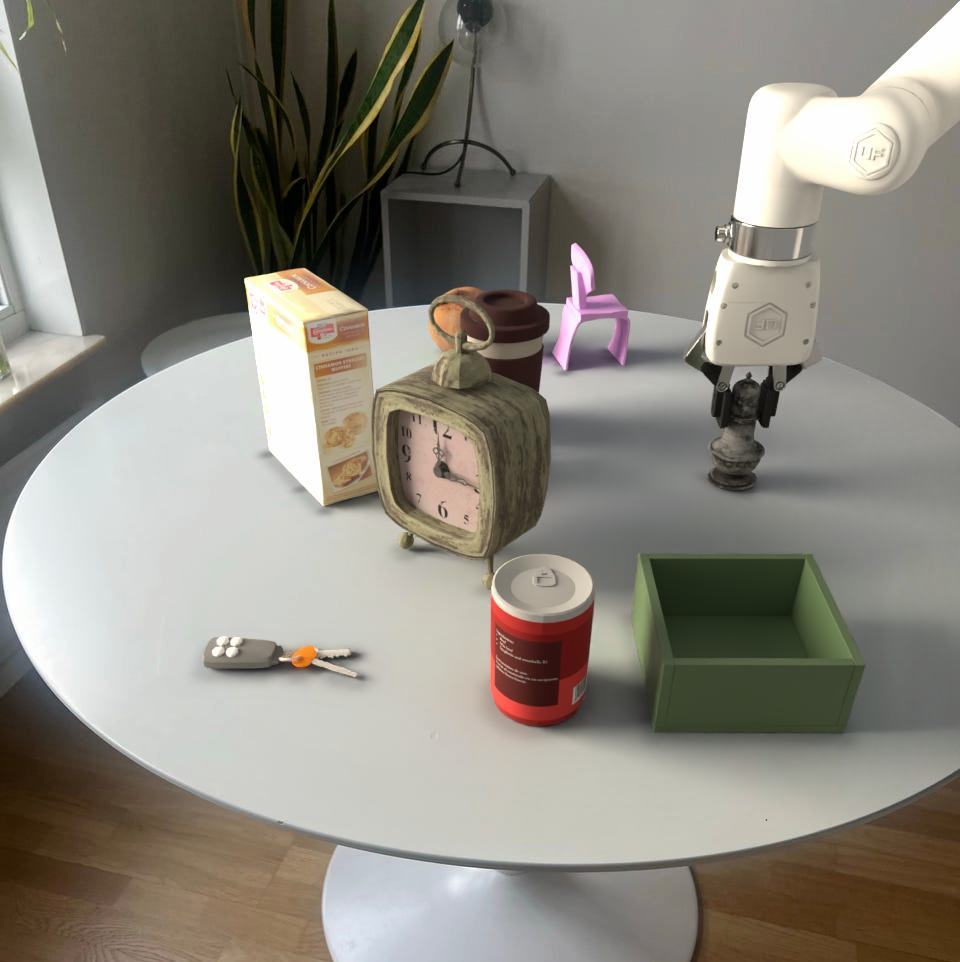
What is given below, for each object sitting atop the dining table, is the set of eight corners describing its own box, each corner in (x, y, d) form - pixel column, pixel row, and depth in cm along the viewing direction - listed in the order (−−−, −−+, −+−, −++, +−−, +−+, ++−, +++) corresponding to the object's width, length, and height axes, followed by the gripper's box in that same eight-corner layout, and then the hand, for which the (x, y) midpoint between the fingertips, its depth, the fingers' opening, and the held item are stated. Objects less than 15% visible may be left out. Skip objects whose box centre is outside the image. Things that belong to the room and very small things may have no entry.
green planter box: (796, 617, 85) (812, 553, 81) (844, 733, 74) (866, 665, 70) (630, 617, 85) (638, 552, 81) (653, 732, 74) (664, 664, 70)
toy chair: (630, 368, 128) (642, 251, 119) (567, 373, 126) (574, 256, 117) (610, 344, 134) (620, 232, 125) (550, 350, 133) (555, 236, 123)
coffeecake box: (383, 490, 103) (370, 308, 91) (322, 508, 100) (300, 322, 88) (324, 435, 113) (306, 264, 100) (267, 450, 110) (241, 276, 98)
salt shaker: (693, 477, 104) (707, 371, 97) (726, 459, 107) (742, 355, 100) (738, 497, 101) (757, 388, 93) (770, 478, 104) (791, 371, 97)
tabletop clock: (379, 549, 94) (359, 290, 78) (441, 512, 99) (434, 263, 84) (495, 606, 87) (498, 333, 71) (554, 562, 92) (570, 300, 76)
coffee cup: (502, 400, 120) (504, 278, 111) (562, 425, 115) (569, 299, 105) (444, 425, 115) (441, 298, 105) (503, 453, 109) (506, 322, 100)
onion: (449, 383, 131) (423, 328, 123) (438, 340, 137) (411, 284, 128) (514, 357, 130) (492, 299, 122) (500, 314, 135) (478, 256, 127)
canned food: (569, 657, 81) (577, 547, 74) (598, 721, 75) (610, 607, 68) (480, 669, 80) (480, 558, 73) (502, 736, 74) (505, 621, 67)
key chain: (201, 673, 79) (197, 659, 78) (213, 645, 82) (210, 631, 81) (357, 679, 79) (356, 665, 78) (364, 650, 82) (363, 637, 81)
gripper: (688, 252, 86) (666, 440, 97) (875, 249, 86) (831, 438, 97) (675, 228, 92) (656, 408, 103) (850, 225, 92) (811, 406, 103)
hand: (741, 420), depth 100 cm, fingers closed on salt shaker, 3 cm apart
